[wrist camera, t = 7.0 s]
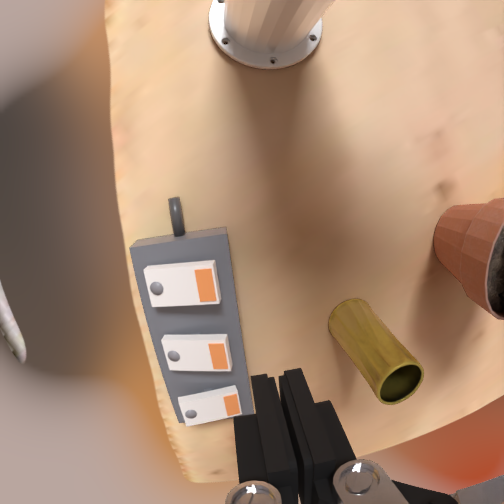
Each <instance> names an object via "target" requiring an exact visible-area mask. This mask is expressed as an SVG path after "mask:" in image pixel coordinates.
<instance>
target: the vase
mask: <svg viewBox="0 0 504 504" xmlns="http://www.w3.org/2000/svg"><path fill="white" fill-rule="evenodd" d="M329 330H330V333H331V334H332V336H333V337H334V338H335V339H336V340H337V341H338V343H339V344H340V345H341V347H342V348H343V349H344V351H345V352H346V353H347V354H348V356H349V357H350V358H351V360H352V361H353V362H354V364H355V365H356V367H357V368H358V369H359V371H360V372H361V374H362V375H363V376H364V378H365V379H366V381H367V382H368V384H369V385H370V387H371V388H372V390H373V392H374V393H375V395H376V397H377V398H378V399H379V401H380V402H381V403H383V404H387V405H394V404H398V403H400V402H402V401H404V400H406V399H407V398H409V397H410V396H411V395H413V394H414V393H415V392H416V390H417V389H418V388H419V386H420V384H421V383H422V381H423V377H424V370H423V368H422V366H421V365H420V363H419V362H418V361H417V360H416V358H415V357H414V356H412V355H411V353H410V352H409V351H408V350H407V349H406V348H405V347H404V346H403V345H402V344H401V343H400V342H399V341H398V340H397V339H396V337H395V336H394V335H393V334H392V333H391V332H390V330H389V329H388V328H387V327H386V326H385V324H384V323H383V322H382V321H381V320H380V319H379V318H378V316H377V315H376V314H375V313H374V312H373V311H372V309H371V307H370V306H369V305H368V303H367V302H365V301H363V300H361V299H350V300H347V301H345V302H343V303H341V304H340V305H338V306H337V307H336V308H335V309H334V311H333V312H332V314H331V316H330V319H329Z"/></svg>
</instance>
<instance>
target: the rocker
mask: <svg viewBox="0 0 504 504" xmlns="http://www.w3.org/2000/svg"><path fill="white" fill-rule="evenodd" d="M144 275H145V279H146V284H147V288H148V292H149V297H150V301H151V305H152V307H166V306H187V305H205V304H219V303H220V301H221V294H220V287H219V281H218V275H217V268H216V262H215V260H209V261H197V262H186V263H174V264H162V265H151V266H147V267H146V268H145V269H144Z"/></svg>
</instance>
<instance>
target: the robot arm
mask: <svg viewBox="0 0 504 504" xmlns="http://www.w3.org/2000/svg"><path fill="white" fill-rule="evenodd" d="M334 1H335V0H214V1H213V2H212V4H211V7H210V11H209V28H210V32H211V34H212V37H213V39H214V41H215V42H216V44H217V45H218V47H219V48H220V49H221V50H222V51H223V52H224V53H225V54H227V55H228V56H229V57H231V58H232V59H233V60H235V61H237V62H240V63H242V64H244V65H247V66H250V67H253V68H260V69H279V68H285V67H289V66H291V65H294V64H297V63H298V62H300V61H302V60H303V59H305V58H306V57H307V56H308V55H309V54H310V53H311V52H312V51H313V50H314V49H315V48H316V46H317V45H318V43H319V41H320V38H321V35H322V27H323V22H322V16H323V15H324V13H325V12H326V11H327V10H328V8H329V7H330V6H331V5H332V4H333V2H334ZM219 3H222V4H219ZM310 39H312V40H313V41H311V40H310ZM224 42H227V43H228V44H227V45H224V44H223V43H224ZM270 61H274V64H272V63H270ZM251 382H252V389H253V396H254V402H255V409H256V414H250V415H242V416H234V431H235V442H236V453H237V463H238V474H239V483H240V484H238V485H237V486H236V487H234V488H233V489H232V490H231V491H230V492H229V493H228V495H227V498H226V501H225V504H298V493H299V497H300V501H301V504H504V475H502V476H499V477H496V478H493V479H491V480H488V481H485V482H482V483H480V484H476V485H473V486H470V487H467V488H464V489H460V490H457V491H456V493H454V494H451V495H447V494H445V493H440V492H436V491H432V490H427V489H423V488H419V487H415V486H411V485H408V484H404V483H401V482H397V481H394V480H391V479H390V478H389V477H388V475H387V474H386V473H385V471H384V470H383V468H381V467H380V466H379V465H378V464H377V463H375V462H373V461H370V460H364V459H359V460H357V459H356V457H355V454H354V452H353V450H352V448H351V445H350V443H349V441H348V439H347V436H346V434H345V432H344V430H343V428H342V425H341V423H340V421H339V419H338V416H337V414H336V412H335V410H334V407H333V405H332V403H331V402H330V401H329V400H328V401H323V402H319V403H314V400H313V398H312V395H311V393H310V390H309V387H308V385H307V382H306V380H305V377H304V375H303V372H302V370H301V368H298V369H292V370H287V371H284V375H282V376H279V388H280V398H279V394H278V390H277V387H276V383H275V379H274V377H270V378H268V376H267V374H262V375H255V376H251ZM280 400H281V402H280Z"/></svg>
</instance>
